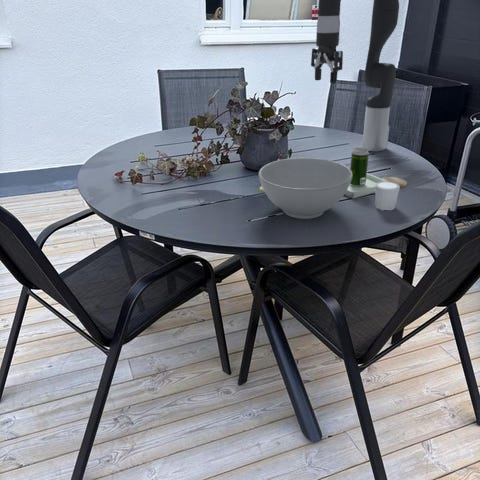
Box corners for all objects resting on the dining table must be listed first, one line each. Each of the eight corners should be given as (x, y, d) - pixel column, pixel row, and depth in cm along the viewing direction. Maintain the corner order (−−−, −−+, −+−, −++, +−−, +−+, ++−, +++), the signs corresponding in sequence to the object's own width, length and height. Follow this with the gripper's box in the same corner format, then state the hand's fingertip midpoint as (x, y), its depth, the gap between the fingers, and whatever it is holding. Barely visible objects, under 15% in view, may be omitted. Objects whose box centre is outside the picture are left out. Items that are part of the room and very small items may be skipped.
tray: (361, 176, 162) (361, 170, 161) (390, 188, 151) (391, 182, 150) (324, 185, 156) (325, 179, 155) (352, 198, 145) (353, 192, 144)
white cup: (384, 213, 135) (387, 191, 131) (368, 205, 140) (370, 183, 137) (401, 208, 137) (405, 186, 134) (385, 200, 143) (388, 179, 139)
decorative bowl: (248, 199, 147) (247, 163, 141) (325, 188, 153) (327, 153, 147) (277, 236, 124) (277, 194, 118) (366, 221, 130) (370, 181, 124)
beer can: (368, 184, 153) (372, 149, 148) (358, 188, 150) (362, 153, 145) (355, 180, 157) (358, 146, 151) (345, 184, 154) (348, 149, 148)
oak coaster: (392, 176, 161) (392, 175, 160) (412, 184, 154) (412, 183, 153) (373, 181, 157) (373, 180, 157) (392, 190, 150) (392, 188, 150)
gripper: (351, 31, 149) (347, 83, 157) (323, 29, 160) (321, 78, 168) (332, 32, 146) (329, 85, 154) (306, 30, 157) (304, 80, 165)
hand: (325, 81), depth 161 cm, fingers open, 8 cm apart
